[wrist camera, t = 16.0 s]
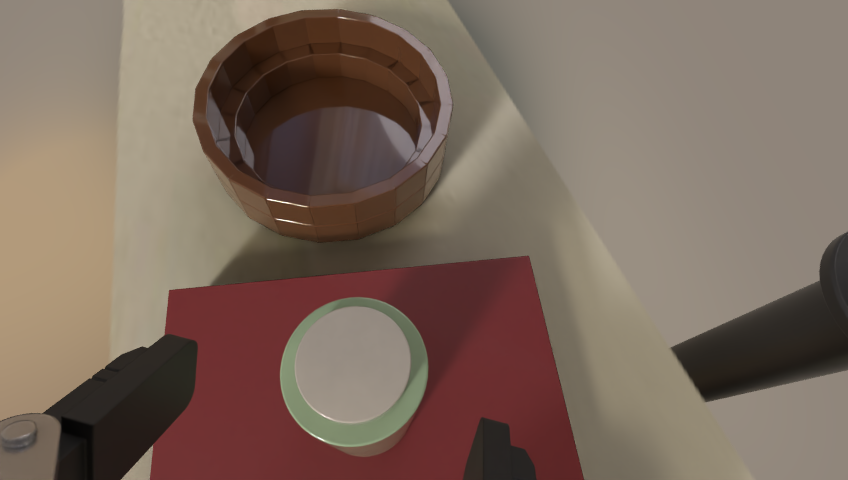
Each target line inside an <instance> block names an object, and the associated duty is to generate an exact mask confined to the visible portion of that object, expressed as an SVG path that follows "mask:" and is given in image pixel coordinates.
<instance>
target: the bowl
mask: <svg viewBox="0 0 848 480" xmlns="http://www.w3.org/2000/svg"><path fill="white" fill-rule="evenodd" d="M452 109H453V102H452V97H451V92H450V87H449V82H448V77H447V75H446V73H445V71H444V70H443V68H442V67H441V65H440V64H439V62H438V61H437V59H436V57H435V56H434V54H433V53H432V51H431V50H430V49H429V48H428V47H427V46H425V45H424V44H423V43H422V42H420V41H419V40H418V39H417V38H415V37H414V36H413V35H412V34H411V33H409V32H408V31H407V30H405V29H403V28H401V27H399V26H397V25H394V24H392V23H390V22H388V21H385V20H383V19H381V18H379V17H376V16H373V15H368V14H363V13H358V12H352V11H347V10H342V9H340V10H339V9H326V10H301V11H297V12H293V13H289V14H285V15H281V16H277V17H273V18H269V19H268V20H265V21H263V22H261V23H259V24H257V25H255V26H253V27H252V28H250V29H248V30H246V31H244V32H242V33H240V34H238V35H237V36H235V37H234V38H233V39H232V40H231V41H230V42H229V43H228V44H226V45H225V46H224V47H223V48H222V49H221V50H220V51H219V52H218V53H217V54H216V55H215V56H214V57H213V58H212V60H210V62H209V64H208V66H207V68H206V70H205V71H204V73H203V75H202V77H201V79H200V81H199V83H198V85H197V87H196V89H195V100H194V110H193V123H194V126H195V129H196V132H197V135H198V137H199V140H200V143H201V146H202V149H203V152H204V153H205V155H206V157H207V159H208V160H209V162H210V164H211V166H212V167H213V169H214V171H215V173H216V174H217V176H218V178H219V180H220V181H221V183H222V185H223V187H224V188H225V190H226V192H227V193H228V195H229V196H230V197H231V198H232V199H233V200H234V201H235V202H236V204H237V205H238V206H239V207H240V208H241V209H242V210H243V211H244V213H245V214H246V215H247V216H248V217H249V218H251V219H253V220H254V221H256V222H258V223H260V224H262V225H264V226H265V227H267V228H269V229H271V230H273V231H275V232H276V233H278V234H280V235H283V236H288V237H293V238H298V239H303V240H308V241H313V242H318V243H319V242H320V243H322V242H334V241H345V240H357V239H361V238H363V237H366V236H368V235H371V234H374V233H376V232H379V231H381V230H384V229H387V228H389V227H392V226H394V225H396V224H397V223H399V222H400V221H401V220H402V219H404V218H405V217H406V216H407V215H409V214H410V213H411V212H412V211H414V210H415V209H416V208H418V207H419V206H420V205H421V204H422V203H423V202H424V200H425V199H426V197H427V196H428V194H429V193H430V191H431V190H432V188H433V186H434V185H435V183H436V182H437V180H438V179H439V177H440V173H441V169H442V164H443V159H444V154H445V149H446V143H447V138H448V132H449V126H450V121H451V115H452Z"/></svg>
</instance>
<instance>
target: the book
mask: <svg viewBox="0 0 848 480" xmlns="http://www.w3.org/2000/svg"><path fill="white" fill-rule="evenodd" d="M350 297H365V298H372V299H377V300H380V301H383V302H385V303H388V304H390V305H392V306H394V307H395V308H397V309H398V310H400V311H401V312H402V313H403V314H404V315H406V316H407V317H408V318H409V319H410V320H411V322H412V323H413V324H414V325H415V327H416V328H417V330H418V331H419V333H420V335H421V337H422V339H423V342H424V344H425V347H426V351H427V356H428V367H429V370H428V380H427V386H426V389H425V393H424V396H423V398H422V400H421V403H420V405H419V407H418V409H417V411H416V414H415V416H414V418H413V420H412V422H411V424H410V427H409V429H408V431H407V432H406V434H405V435H404V437H403V438H402V439H401V440H400V441H399V442H398V443H397V444H396V445H395V446H393V447H392V448H391V449H389V450H387V451H385V452H384V453H381V454H378V455H374V456H369V457H359V456H353V455H349V454H347V453H344V452H342V451H340V450H338V449H336V448H334V447H332V446H330V445H328V444H326V443H324V442H322V441H321V440H319V439H317V438H315V437H313V436H312V435H310V434H309V433H308V432H306V431H305V430H304V429H303V428H302V427H301V426H300V425H299V424H298V423H297V422H296V421H295V419H294V418H293V417H292V415H291V414H290V412H289V410H288V408H287V406H286V404H285V401H284V398H283V395H282V391H281V386H280V366H281V361H282V356H283V353H284V350H285V347H286V345H287V343H288V340H289V338H290V337H291V335H292V334H293V332H294V330H295V329H296V328H297V327H298V325H299V324H300V323H301V322H302V321H303V320H304V319H305V318H306V317H307V316H308V315H309V314H311V313H312V312H313V311H315V310H316V309H318V308H320V307H322V306H323V305H325V304H328V303H330V302H332V301H336V300H339V299H344V298H350ZM166 334H172V335H176V336H180V337H183V338H187V339H191V340H195V341H196V342H197V344H198V353H197V367H196V380H195V389H194V393H193V396H192V399H191V401H190V403H189V405H188V406H187V408H186V409H185V410H184V411H183V413H182V414H181V415H180V416H179V417H178V418H177V419H176V420H175V421H174V422H173V423H172V424H171V426H170V427H169V428H168V429H167V430H166V431H165V432H164V433H163V434H162V435H161V436H160V437H159V439H158V440H157V441H156V442H155V443H154V445H153V455H152V465H151V474H150V480H463V477H464V471H465V466H466V462H467V459H468V456H469V453H470V450H471V446H472V443H473V440H474V437H475V434H476V430H477V427H478V424H479V421H480V419H481V417H484V418H488V419H491V420H495V421H499V422H503V423H507V424H509V428H510V440H511V446H515V447H519V448H523V449H525V450H526V452H527V453H528V455H529V457H530V459H531V460H532V462H533V464H534V466H535V472H536V479H537V480H584V478H583V474H582V470H581V466H580V462H579V458H578V454H577V449H576V445H575V441H574V437H573V433H572V429H571V425H570V421H569V417H568V413H567V409H566V405H565V401H564V397H563V393H562V388H561V384H560V380H559V376H558V372H557V368H556V364H555V360H554V356H553V352H552V348H551V344H550V340H549V336H548V332H547V327H546V323H545V319H544V315H543V311H542V307H541V303H540V299H539V295H538V291H537V287H536V283H535V279H534V275H533V270H532V266H531V262H530V258H529V256H521V257H511V258H500V259H490V260H479V261H469V262H458V263H448V264H437V265H427V266H416V267H406V268H395V269H385V270H374V271H364V272H353V273H343V274H333V275H322V276H312V277H301V278H291V279H280V280H270V281H259V282H249V283H238V284H228V285H217V286H207V287H196V288H186V289H175V290H169V297H168V307H167V317H166V327H165V335H166Z"/></svg>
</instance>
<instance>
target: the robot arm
mask: <svg viewBox="0 0 848 480" xmlns="http://www.w3.org/2000/svg"><path fill="white" fill-rule="evenodd" d="M197 353H198V344H197V342H196V341H195V340H191V339H187V338H183V337H180V336H176V335H172V334H166V335H165V336H163V337H162V338H161V339H159V340H158V341H157V342H155V343H154V344H153V345H152V346H150V347H149V348H146V347H140V348H137V349H135V350H132V351H130V352H127V353H125V354H122V355H120V356H119V357H118V358H116V359H115V360H114V361H112V362H111V363H110V364H108V365H107V366H106V367H105V369H102V370H100V371H99V372H97V373H96V374H95V375H93V377H92V379H88V380H87V381H85V382H84V383H83V384H81V385H80V386H79V387H77V388H76V389H75V390H73V391H72V392H70V393H69V394H68V395H66V396H65V397H64V398H62V399H61V400H60V401H58V402H57V403H56V404H54V405H53V406H52V407H50V408H49V409H48V410H46V411H45V412H44V413H42V414H40V413H29V414H22V415H17V416H13V417H10V418H7V419H4V420H2V421H0V480H121V479H122V478H123V477H124V475H125V474H126V473H127V472H128V471H129V470H130V469H131V468H132V467H133V466H134V465H135V464H136V462H137V461H138V460H139V459H140V458H141V457H142V456H143V455H144V454H145V453H146V452H147V450H148V449H149V448H150V447H151V446H152V445H153V444H154V443H155V442H156V441H157V440H158V439H159V437H160V436H161V435H162V434H163V433H164V432H165V431H166V430H167V429H168V428H169V427H170V426H171V424H172V423H173V422H174V421H175V420H176V419H177V418H178V417H179V416H180V415H181V414H182V413H183V411H184V410H185V409H186V408H187V406H188V405H189V403H190V401H191V399H192V396H193V393H194V389H195V380H196V367H197ZM463 480H537V479H536V472H535V466H534V464H533V462H532V460H531V459H530V457H529V455H528V453H527V452H526V450H525V449H523V448H519V447H515V446H511V440H510V428H509V424H507V423H503V422H499V421H495V420H491V419H488V418H484V417H481V419H480V421H479V424H478V427H477V430H476V434H475V437H474V440H473V443H472V446H471V450H470V453H469V456H468V459H467V462H466V466H465V471H464V477H463Z"/></svg>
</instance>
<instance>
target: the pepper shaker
mask: <svg viewBox="0 0 848 480" xmlns="http://www.w3.org/2000/svg"><path fill="white" fill-rule="evenodd" d="M428 370H429V367H428V356H427V351H426V347H425V344H424V342H423V339H422V337H421V335H420V333H419V331H418V330H417V328H416V327H415V325H414V324H413V323H412V322H411V320H410V319H409V318H408V317H407V316H406V315H404V314H403V313H402V312H401V311H400V310H398V309H397V308H395V307H394V306H392V305H390V304H388V303H385V302H383V301H380V300H377V299H372V298H365V297H350V298H344V299H339V300H336V301H332V302H330V303H328V304H325V305H323V306H322V307H320V308H318V309H316V310H315V311H313V312H312V313H311V314H309V315H308V316H307V317H306V318H305V319H304V320H303V321H302V322H301V323H300V324H299V325H298V327H297V328H296V329H295V330H294V332H293V334H292V335H291V337H290V338H289V340H288V343H287V345H286V347H285V350H284V353H283V356H282V361H281V366H280V386H281V391H282V395H283V398H284V401H285V404H286V406H287V408H288V410H289V412H290V414H291V415H292V417H293V418H294V419H295V421H296V422H297V423H298V424H299V425H300V426H301V427H302V428H303V429H304V430H305V431H306V432H308V433H309V434H310V435H312V436H313V437H315V438H317V439H319V440H321V441H322V442H324V443H326V444H328V445H330V446H332V447H334V448H336V449H338V450H340V451H342V452H344V453H347V454H349V455H353V456H359V457H369V456H374V455H378V454H381V453H384V452H385V451H387V450H389V449H391V448H392V447H393V446H395V445H396V444H397V443H398V442H399V441H400V440H401V439H402V438H403V437H404V435H405V434H406V432H407V431H408V429H409V427H410V424H411V422H412V420H413V418H414V416H415V414H416V411H417V409H418V407H419V405H420V403H421V400H422V398H423V396H424V393H425V389H426V386H427V380H428Z"/></svg>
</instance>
